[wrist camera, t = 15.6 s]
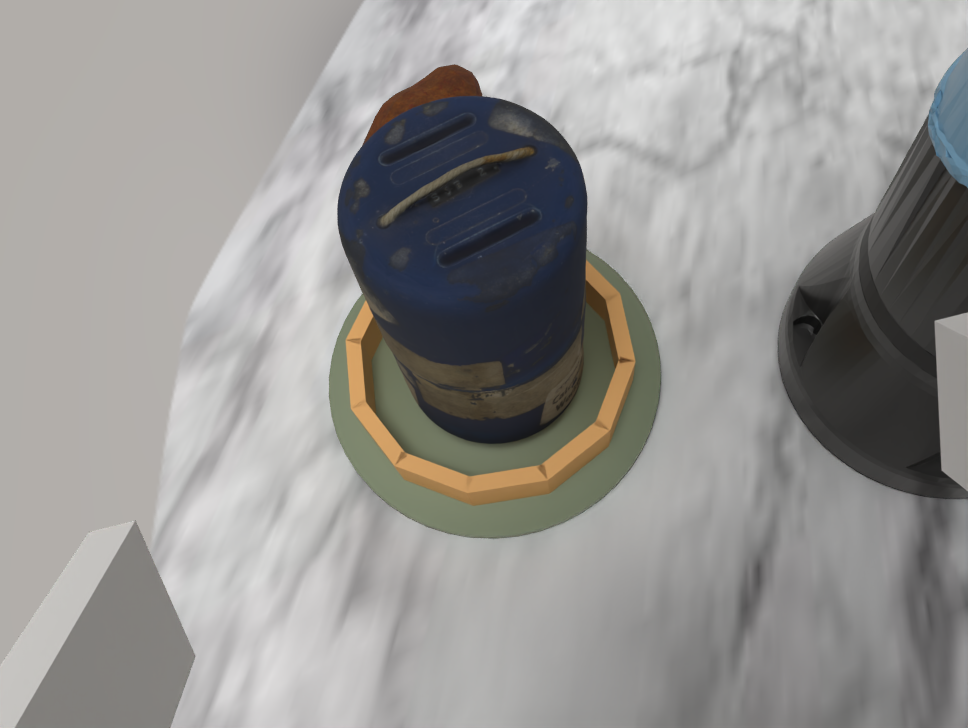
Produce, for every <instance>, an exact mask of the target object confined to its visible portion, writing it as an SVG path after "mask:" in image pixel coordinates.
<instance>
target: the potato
mask: <svg viewBox="0 0 968 728" xmlns="http://www.w3.org/2000/svg"><path fill="white" fill-rule="evenodd" d="M458 96H482V93H481V90H480V86H479V83H478V81H477V79H476V78H475V76H474V75H473V73H472V72H470V71H468V70H466V69H464V68H462V67H460V66H458V65H449V66H443V67H439V68H437V69H435V70H434V71H433V72H431V73H430V74H429V75H428V76H426V77H425V78H423V79H422V80H420V81H419V82H417V83H416V84H415V85H413V86H411V87H409V88H407V89H405V90H403V91H401V92H399V93H397V94H395V95H394V96H393V97H391V98H390V99H389V100H388V101H386V102H385V103H384V104H383V105H382V107H381V108H380V110H379V112H378V113H377V115H376V116H375V119H374V121H373V123H372V125H371V127H370V130H369V132H368V134H367V136H366V138H365V140H364V143H363V145H364V144H365V142H366V141H367V140H368V139H369V138H370V137H371V136H372V135H373V134H374V133H375V132H376V131H377V130H378V129H380V128H381V127H382V126H383V125H385V124H386V123H387V122H389V121H390V120H392V119H393V118H395V117H397V116H398V115H400V114H402V113H404V112H406V111H408V110H410V109H412V108H414V107H417V106H419V105H422V104H425V103H428V102H432V101H435V100H439V99H443V98H449V97H458ZM363 145H362V146H363Z"/></svg>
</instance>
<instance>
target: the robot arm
mask: <svg viewBox="0 0 968 728" xmlns="http://www.w3.org/2000/svg"><path fill="white" fill-rule="evenodd" d="M778 357H779V364H780V370H781V374H782V378H783V382H784V384H785V387H786V390H787V393H788V395H789V397H790V399H791V401H792V403H793V405H794V407H795V409H796V411H797V412H798V414H799V415H800V417H801V419H802V420H803V421H804V423H805V424H806V426H807V427H808V428H809V429H810V431H811V432H812V433H813V434H814V435H815V437H816V438H817V439H818V440H819V441H820V442H821V443H822V444H823V445H824V446H825V447H826V448H827V449H829V450H830V451H831V452H832V453H833V454H834V455H835V456H837V457H838V458H839V459H841V460H842V461H843V462H845V463H846V464H848V465H849V466H850V467H852V468H854V469H855V470H857V471H858V472H860V473H862V474H864V475H866V476H867V477H869V478H871V479H873V480H875V481H878V482H880V483H882V484H885V485H887V486H890V487H893V488H895V489H898V490H902V491H905V492H909V493H913V494H917V495H922V496H929V497H936V498H953V499H960V498H968V48H967V50H966V51H965V52H963V53H962V54H961V55H960V56H959V57H958V58H957V59H956V61H955V62H954V63H953V64H952V65H951V66H950V68H949V69H948V70H947V72H946V73H945V74H944V76H943V78H942V79H941V81H940V83H939V85H938V87H937V88H936V91H935V93H934V101H933V103H932V106H931V108H930V110H929V115H928V117H927V118H926V120H925V122H924V124H923V126H922V128H921V129H920V131H919V133H918V135H917V137H916V139H915V140H914V142H913V144H912V146H911V148H910V150H909V151H908V153H907V155H906V157H905V159H904V161H903V162H902V164H901V166H900V168H899V170H898V172H897V173H896V175H895V177H894V179H893V181H892V183H891V184H890V186H889V188H888V190H887V192H886V193H885V195H884V197H883V199H882V200H881V202H880V204H879V206H878V208H877V210H876V212H875V213H873V214H872V215H870V216H869V217H867V218H865V219H864V220H862V221H861V222H859V223H858V224H856V225H855V226H853V227H851V228H850V229H848V230H847V231H845V232H844V233H842V234H841V235H839V236H837V237H836V238H835V239H833V240H832V241H831V242H829V243H828V244H827V245H826V246H825V247H824V248H822V249H821V250H820V251H819V252H818V254H817V255H816V256H815V257H814V258H813V259H812V260H811V261H810V263H809V264H808V265H807V266H806V268H805V269H804V271H803V272H802V274H801V275H800V277H799V279H798V281H797V282H796V285H795V287H794V289H793V291H792V293H791V295H790V297H789V299H788V302H787V304H786V306H785V309H784V312H783V315H782V318H781V322H780V328H779V335H778ZM194 659H195V654H194V652H193V649H192V647H191V645H190V643H189V640H188V638H187V636H186V634H185V631H184V629H183V627H182V624H181V622H180V620H179V618H178V615H177V613H176V611H175V609H174V606H173V604H172V602H171V600H170V597H169V595H168V593H167V591H166V588H165V586H164V584H163V582H162V579H161V577H160V575H159V573H158V570H157V568H156V566H155V564H154V561H153V559H152V557H151V554H150V552H149V550H148V548H147V546H146V543H145V541H144V539H143V536H142V534H141V533H140V530H139V527H138V525H137V523H136V521H131V522H128V523H123V524H119V525H115V526H111V527H107V528H104V529H99V530H95V531H91V532H89V533H88V534H87V536H86V538H85V539H84V541H83V542H82V544H81V545H80V547H79V548H78V549H77V551H76V552H75V554H74V556H73V557H72V559H71V560H70V562H69V563H68V565H67V566H66V568H65V569H64V571H63V572H62V574H61V575H60V577H59V578H58V580H57V581H56V583H55V584H54V586H53V587H52V589H51V590H50V592H49V593H48V595H47V596H46V598H45V599H44V601H43V602H42V604H41V605H40V607H39V608H38V610H37V611H36V613H35V614H34V616H33V618H32V619H31V621H30V622H29V623H28V625H27V627H26V628H25V629H24V631H23V633H22V634H21V636H20V637H19V639H18V640H17V641H16V643H15V644H14V646H13V647H12V649H11V650H10V652H9V653H8V655H7V657H6V658H5V659H4V661H3V662H2V664H1V665H0V728H170V727H171V724H172V721H173V718H174V715H175V713H176V710H177V707H178V704H179V701H180V698H181V696H182V693H183V690H184V687H185V684H186V681H187V679H188V676H189V673H190V670H191V667H192V664H193V662H194Z"/></svg>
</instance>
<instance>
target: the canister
mask: <svg viewBox="0 0 968 728" xmlns="http://www.w3.org/2000/svg"><path fill="white" fill-rule="evenodd" d="M337 210H338V228H339V234H340V238H341V242H342V246H343V248H344V251H345V254H346V256H347V258H348V261H349V263H350V265H351V268H352V270H353V272H354V274H355V277H356V279H357V281H358V283H359V286H360V288H361V290H362V293H363V295H364V297H365V299H366V301H367V303H368V305H369V308H370V310H371V312H372V314H373V316H374V318H375V320H376V322H377V325H378V327H379V329H380V332H381V334H382V336H383V338H384V340H385V342H386V344H387V345H388V347H389V348H390V350H391V351H392V353H393V355H394V357H395V359H396V362H397V364H398V366H399V368H400V370H401V372H402V374H403V377H404V379H405V381H406V383H407V385H408V387H409V389H410V391H411V393H412V395H413V397H414V399H415V401H416V402H417V404H418V406H419V407H420V408H421V410H422V411H423V412H424V413H425V414H426V416H427V417H428V418H429V419H430V420H431V421H433V422H434V423H435V424H436V425H438V426H439V427H440V428H442V429H443V430H445V431H446V432H448V433H450V434H452V435H454V436H457V437H459V438H462V439H465V440H467V441H472V442H477V443H485V444H501V443H508V442H514V441H518V440H521V439H524V438H527V437H529V436H532V435H534V434H536V433H538V432H540V431H541V430H543V429H545V428H546V427H548V426H549V425H550V424H551V423H553V422H554V421H555V420H556V419H557V418H558V417H559V416H560V415H561V414H562V413H563V412H564V411H565V410H566V408H567V407H568V406H569V404H570V403H571V401H572V399H573V397H574V396H575V394H576V392H577V390H578V387H579V384H580V381H581V377H582V372H583V365H584V348H583V341H584V322H585V308H586V287H585V284H586V242H587V192H586V186H585V181H584V177H583V173H582V169H581V166H580V164H579V161H578V159H577V157H576V155H575V153H574V152H573V150H572V148H571V147H570V145H569V144H568V143H567V141H566V140H565V139H564V137H563V136H562V135H561V134H560V133H559V132H558V131H557V130H556V129H555V128H554V127H553V126H552V125H551V124H550V123H549V122H548V121H546V120H545V119H544V118H542V117H541V116H539V115H537V114H536V113H534V112H532V111H530V110H528V109H526V108H524V107H522V106H520V105H517V104H515V103H512V102H509V101H506V100H502V99H497V98H491V97H482V96H458V97H449V98H443V99H439V100H435V101H432V102H428V103H425V104H422V105H419V106H417V107H414V108H412V109H410V110H408V111H406V112H404V113H402V114H400V115H398V116H397V117H395V118H393V119H392V120H390V121H389V122H387V123H386V124H385V125H383V126H382V127H381V128H380V129H378V130H377V131H376V132H375V133H374V134H373V135H372V136H371V137H370V138H369V139H368V140H367V141H366V142H365V144H364V145H363V146H362V147H361V148H360V150H359V151H358V153H357V154H356V155H355V157H354V158H353V160H352V162H351V164H350V166H349V168H348V170H347V172H346V174H345V176H344V179H343V182H342V185H341V189H340V194H339V199H338V209H337Z"/></svg>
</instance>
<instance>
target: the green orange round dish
mask: <svg viewBox="0 0 968 728" xmlns="http://www.w3.org/2000/svg"><path fill="white" fill-rule="evenodd" d="M585 287H586V308H585V322H584V341H583V348H584V365H583V372H582V377H581V381H580V384H579V387H578V390H577V392H576V394H575V396H574V397H573V399H572V401H571V403H570V404H569V406H568V407H567V408H566V410H565V411H564V412H563V413H562V414H561V415H560V416H559V417H558V418H557V419H556V420H555V421H554V422H553V423H551V424H550V425H549V426H548V427H546V428H545V429H543V430H541V431H540V432H538V433H536V434H534V435H532V436H529V437H527V438H524V439H521V440H518V441H514V442H508V443H501V444H485V443H477V442H472V441H467V440H465V439H462V438H459V437H457V436H454V435H452V434H450V433H448V432H446V431H445V430H443V429H442V428H440V427H439V426H438V425H436V424H435V423H434V422H433V421H431V420H430V419H429V418H428V417H427V416H426V414H425V413H424V412H423V411H422V410H421V408H420V407H419V406H418V404H417V402H416V401H415V399H414V397H413V395H412V393H411V391H410V389H409V387H408V385H407V383H406V381H405V379H404V377H403V374H402V372H401V370H400V368H399V366H398V364H397V362H396V359H395V357H394V355H393V353H392V351H391V350H390V348H389V347H388V345H387V344H386V342H385V340H384V338H383V336H382V334H381V332H380V329H379V327H378V325H377V322H376V320H375V318H374V316H373V314H372V312H371V310H370V308H369V305H368V303H367V301H366V299H365V297H364V295H363V294H362V295H361V296H360V298H359V299H358V300H357V302H356V303H355V304H354V306H353V308H352V309H351V311H350V313H349V315H348V316H347V318H346V320H345V322H344V324H343V326H342V329H341V331H340V333H339V336H338V338H337V341H336V345H335V348H334V352H333V355H332V361H331V368H330V375H329V399H330V407H331V414H332V419H333V422H334V426H335V429H336V433H337V436H338V438H339V440H340V443H341V445H342V447H343V449H344V452H345V454H346V456H347V457H348V459H349V460H350V462H351V463H352V465H353V467H354V468H355V470H356V471H357V473H358V474H359V475H360V476H361V477H362V478H363V480H364V481H365V482H366V483H367V484H368V485H369V487H370V488H371V489H372V490H373V491H374V492H375V493H376V494H377V495H378V496H379V497H380V498H382V499H383V500H384V501H385V502H386V503H387V504H388V505H390V506H391V507H393V508H394V509H396V510H397V511H399V512H400V513H402V514H403V515H405V516H406V517H408V518H410V519H412V520H414V521H416V522H418V523H421V524H423V525H425V526H427V527H430V528H433V529H436V530H439V531H442V532H445V533H449V534H454V535H460V536H466V537H471V538H505V537H516V536H521V535H526V534H530V533H534V532H539V531H542V530H545V529H548V528H550V527H553V526H556V525H558V524H561V523H563V522H565V521H567V520H569V519H571V518H573V517H575V516H577V515H579V514H580V513H582V512H584V511H585V510H587V509H588V508H589V507H591V506H592V505H594V504H595V503H596V502H598V501H599V500H601V499H602V498H603V497H604V496H605V495H606V494H607V493H608V492H609V491H610V490H612V489H613V488H614V487H615V486H616V485H617V484H618V483H619V482H620V480H621V479H622V478H623V477H624V475H625V474H626V473H627V472H628V471H629V469H630V468H631V467H632V465H633V464H634V462H635V460H636V459H637V457H638V455H639V454H640V452H641V451H642V449H643V447H644V445H645V442H646V440H647V438H648V435H649V433H650V431H651V428H652V425H653V421H654V417H655V414H656V410H657V406H658V400H659V392H660V384H661V372H660V357H659V351H658V345H657V340H656V337H655V334H654V331H653V328H652V325H651V322H650V320H649V318H648V316H647V314H646V312H645V310H644V307H643V305H642V304H641V302H640V301H639V299H638V298H637V296H636V295H635V293H634V292H633V290H632V289H631V288H630V286H629V285H628V284H627V283H626V282H625V281H624V280H623V279H622V277H621V276H620V275H619V274H618V273H617V272H616V271H615V270H613V269H612V268H611V267H610V266H609V265H608V264H607V263H605V262H604V261H603V260H602V259H600V258H599V257H597V256H595V255H594V254H592V253H591V252H589V251H588V250H586V284H585Z"/></svg>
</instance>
